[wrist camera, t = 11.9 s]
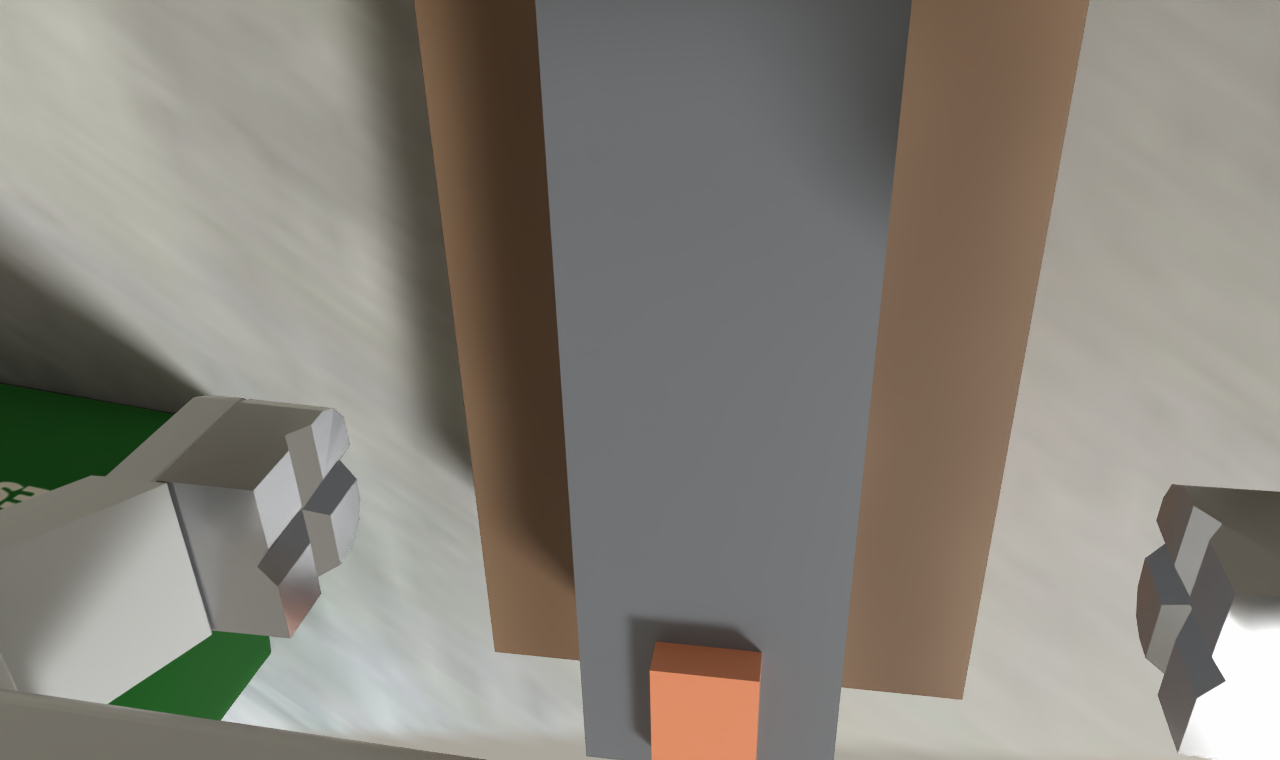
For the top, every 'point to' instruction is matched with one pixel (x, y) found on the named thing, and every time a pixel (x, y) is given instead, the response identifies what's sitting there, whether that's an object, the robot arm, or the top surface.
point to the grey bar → (717, 353)
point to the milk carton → (94, 445)
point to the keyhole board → (907, 332)
